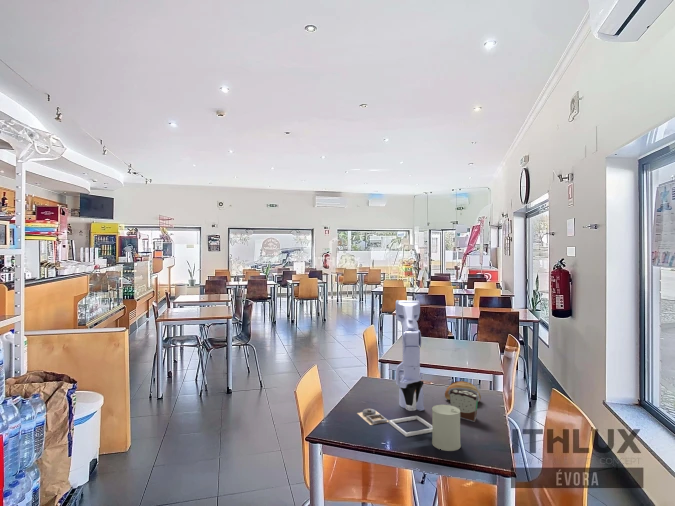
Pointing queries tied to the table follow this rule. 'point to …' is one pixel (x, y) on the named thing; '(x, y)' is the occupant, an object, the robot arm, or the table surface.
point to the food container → (465, 402)
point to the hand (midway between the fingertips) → (411, 403)
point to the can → (446, 427)
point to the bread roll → (461, 385)
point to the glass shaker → (413, 407)
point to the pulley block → (372, 417)
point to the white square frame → (409, 420)
